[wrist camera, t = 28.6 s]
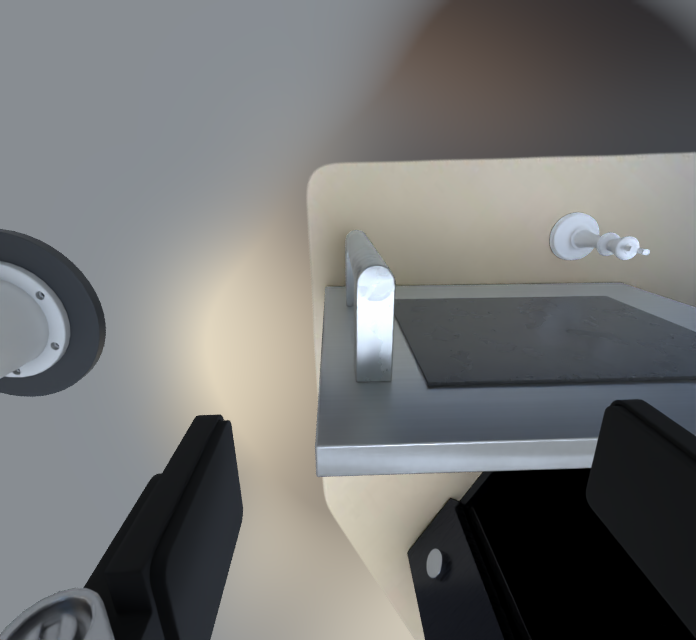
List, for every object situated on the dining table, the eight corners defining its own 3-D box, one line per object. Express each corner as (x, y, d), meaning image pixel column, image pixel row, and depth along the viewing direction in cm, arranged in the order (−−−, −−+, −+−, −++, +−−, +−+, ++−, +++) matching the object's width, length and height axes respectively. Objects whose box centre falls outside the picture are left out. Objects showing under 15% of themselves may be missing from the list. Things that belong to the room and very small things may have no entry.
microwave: (402, 549, 54) (464, 871, 29) (610, 283, 42) (1029, 430, 17) (590, 622, 61) (774, 935, 36) (814, 411, 49) (1333, 653, 24)
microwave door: (323, 224, 39) (309, 294, 14) (636, 221, 40) (1151, 282, 15) (325, 300, 42) (316, 477, 16) (618, 296, 43) (1028, 454, 18)
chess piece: (584, 263, 41) (659, 286, 32) (542, 254, 41) (605, 275, 32) (603, 217, 40) (687, 227, 30) (559, 207, 39) (631, 215, 30)
